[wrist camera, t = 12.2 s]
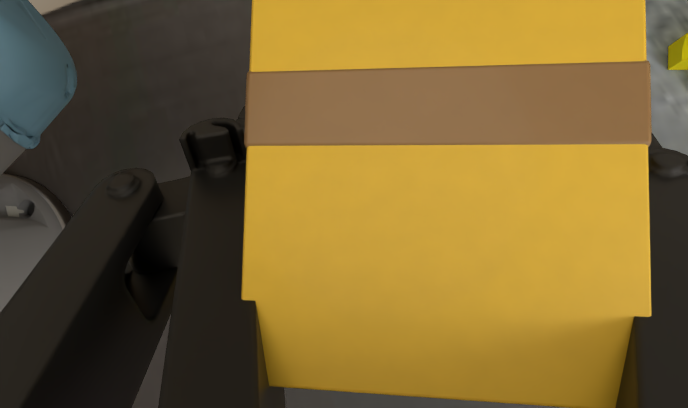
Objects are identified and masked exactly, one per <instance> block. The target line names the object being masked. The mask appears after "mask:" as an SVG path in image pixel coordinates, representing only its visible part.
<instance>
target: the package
mask: <svg viewBox="0 0 688 408" xmlns="http://www.w3.org/2000/svg"><path fill="white" fill-rule="evenodd" d="M651 141H652V136H651V88H650V63H649V61H646V16H645V0H252V15H251V42H250V70H249V72H248V73H247V77H246V103H245V130H244V145H245V148H247V153H246V180H245V208H244V235H243V263H242V290H241V299H243V300H253V301H256V307H257V313H258V319H259V326H260V332H261V338H262V344H263V350H264V356H265V363H266V369H267V375H268V381H269V386H273V387H287V388H301V389H315V390H329V391H343V392H357V393H372V394H386V395H400V396H414V397H428V398H442V399H456V400H470V401H484V402H498V403H512V404H527V405H541V406H555V407H569V408H615V407H616V402H617V397H618V393H619V388H620V383H621V378H622V373H623V368H624V363H625V359H626V354H627V349H628V344H629V339H630V334H631V329H632V324H633V320H634V316H640V317H650V316H651V266H650V216H649V166H648V147H649V146H650V144H651Z"/></svg>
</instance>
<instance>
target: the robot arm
mask: <svg viewBox="0 0 688 408" xmlns="http://www.w3.org/2000/svg"><path fill="white" fill-rule="evenodd" d="M76 86H77V73H76V69H75V65H74V62H73V60H72V58H71V56H70V54H69V52H68V50H67V48H66V47H65V45H64V44H63V42H62V41H61V39H60V38H59V37H58V35H57V34H56V33H55V31H54V30H53V29H52V28H51V26H50V25H49V24H48V23H47V21H46V20H45V19H44V18H43V17H42V16H41V14H40V13H39V12H38V11H37V10H36V9H35V8H34V6H33V5H32V4H31V3H30V2H29V1H28V0H0V408H131V407H132V405H133V403H134V400H135V398H136V395H137V393H138V391H139V388H140V386H141V384H142V381H143V379H144V376H145V374H146V372H147V369H148V367H149V364H150V362H151V360H152V357H153V355H154V352H155V350H156V348H157V345H158V343H159V341H160V338H161V336H162V333H163V331H164V329H165V326H166V324H167V321H168V319H169V317H170V314H171V319H170V326H169V333H168V341H167V348H166V355H165V362H164V369H163V377H162V384H161V391H160V398H159V405H158V408H285V396H284V387H273V386H269V381H268V375H267V369H266V363H265V356H264V350H263V344H262V338H261V332H260V326H259V319H258V313H257V307H256V301H253V300H243V299H241V290H242V263H243V235H244V208H245V180H246V153H247V148H245V145H244V130H245V106H244V107H243V109H242V111H241V113H240V114H239V116H238V119H237V120H236V121H235V120H234V119H228V118H212V119H208V120H205V121H201V122H199V123H196V124H194V125H192V126H190V127H189V128H188V129H186V130H185V131H184V132H183V133H182V135H181V137H180V139H179V140H180V143H181V146H182V148H183V151H184V154H185V156H186V159H187V162H188V164H189V167H190V170H191V175H190V176H189V177H186V178H182V179H177V180H173V181H168V182H163V183H157V181H156V179H155V177H154V175H153V173H152V172H151V171H149V170H147V169H142V168H132V169H124V170H121V171H118V172H115V173H113V174H111V175H110V176H108V177H106V178H105V179H103V180H102V181H101V182H100V183H99V184H98V185H97V186H95V188H94V189H93V190H92V192H91V193H90V194H89V196H88V197H87V198H86V200H85V201H84V202H83V204H82V205H81V206H80V208H79V209H78V210H77V212H76V213H75V214H74V216H73V217H72V218H71V216H70V214H69V213H68V211H67V210H66V208H65V207H64V205H63V204H62V203H61V202H60V200H59V199H58V198H57V197H56V196H55V195H54V194H52V193H51V192H50V191H49V190H48V189H46V188H45V187H43V186H42V185H40V184H38V183H37V182H35V181H32V180H30V179H27V178H25V177H21V176H17V175H10V174H4V172H5V170H6V169H7V168H8V167H9V166H10V165H11V164H12V163H13V162H14V161H15V160H16V159H17V158H18V157H19V156H20V155H21V154H22V153H23V152H24V151H25V150H26V149H33V148H35V147H36V146H37V145H38V144H39V142H40V135H41V134H42V132H43V131H44V130H45V129H46V128H47V127H48V125H49V124H50V123H51V122H52V121H53V120H54V119H55V117H56V116H57V115H58V114H59V113H60V112H61V111H62V109H63V108H64V107H65V106H66V105H67V104H68V103H69V101H70V100H71V99H72V97H73V95H74V93H75V90H76ZM651 136H652V141H651V144H650V146H649V147H648V166H649V216H650V266H651V316H650V317H640V316H634V320H633V324H632V329H631V334H630V339H629V344H628V349H627V354H626V359H625V363H624V368H623V373H622V378H621V383H620V388H619V393H618V397H617V402H616V407H615V408H688V156H687V155H685V154H682V153H680V152H678V151H674V150H670V149H665V148H662V146H661V145H660V144H659V142H658V141H657V139H656V138H655V137H654V135H653V134H652V132H651ZM127 263H128V264H127Z"/></svg>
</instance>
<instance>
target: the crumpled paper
mask: <svg viewBox="0 0 688 408" xmlns="http://www.w3.org/2000/svg"><path fill="white" fill-rule="evenodd" d="M668 70H688V33H686V34H685V35H684V36H682V37H681V38H679V39H678V40H677V41H675V42H674V43H673V44H671V45H670V46H668Z"/></svg>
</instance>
